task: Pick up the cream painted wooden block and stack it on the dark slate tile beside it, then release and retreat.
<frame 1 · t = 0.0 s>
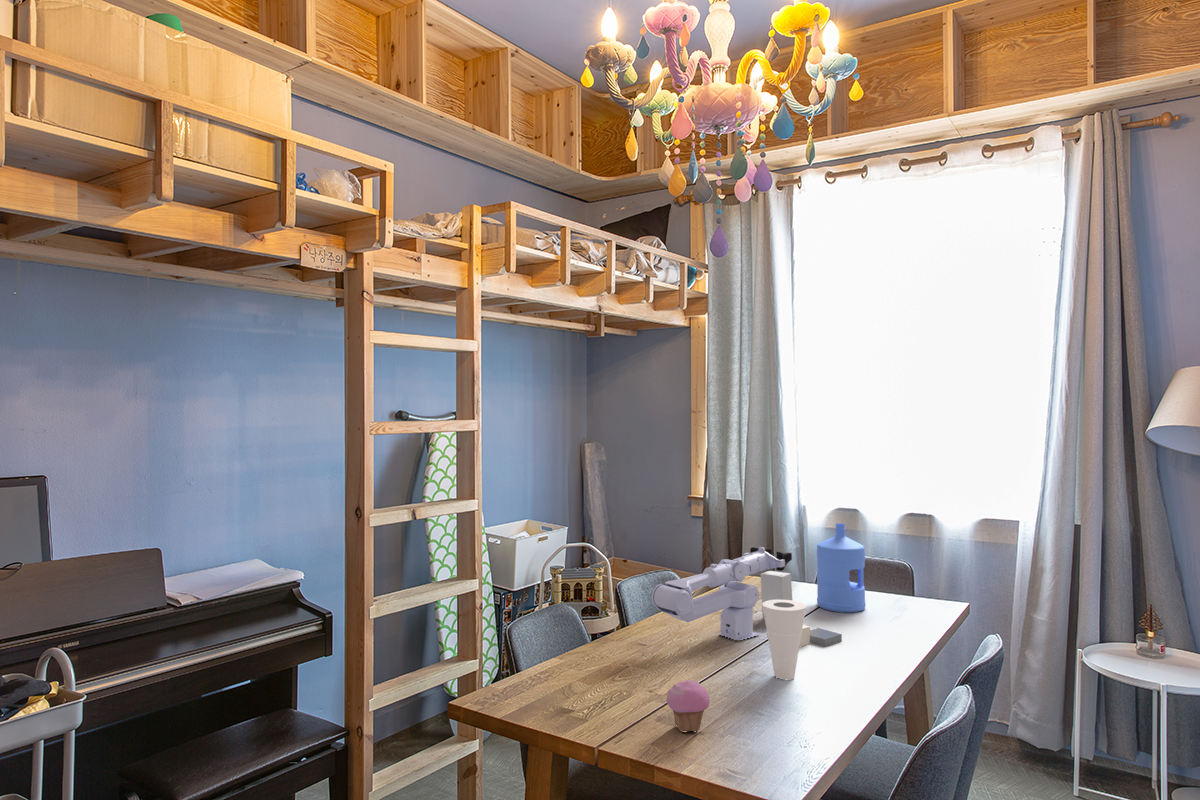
hand: (780, 554, 235), 22 cm above the table, tool horizontal, fingers open, 7 cm apart
block: (798, 643, 215), on the table
cupcake: (687, 731, 157), on the table
skincare box: (776, 620, 240), on the table
base: (821, 640, 218), on the table
water jug: (841, 607, 255), on the table
cup: (784, 677, 188), on the table
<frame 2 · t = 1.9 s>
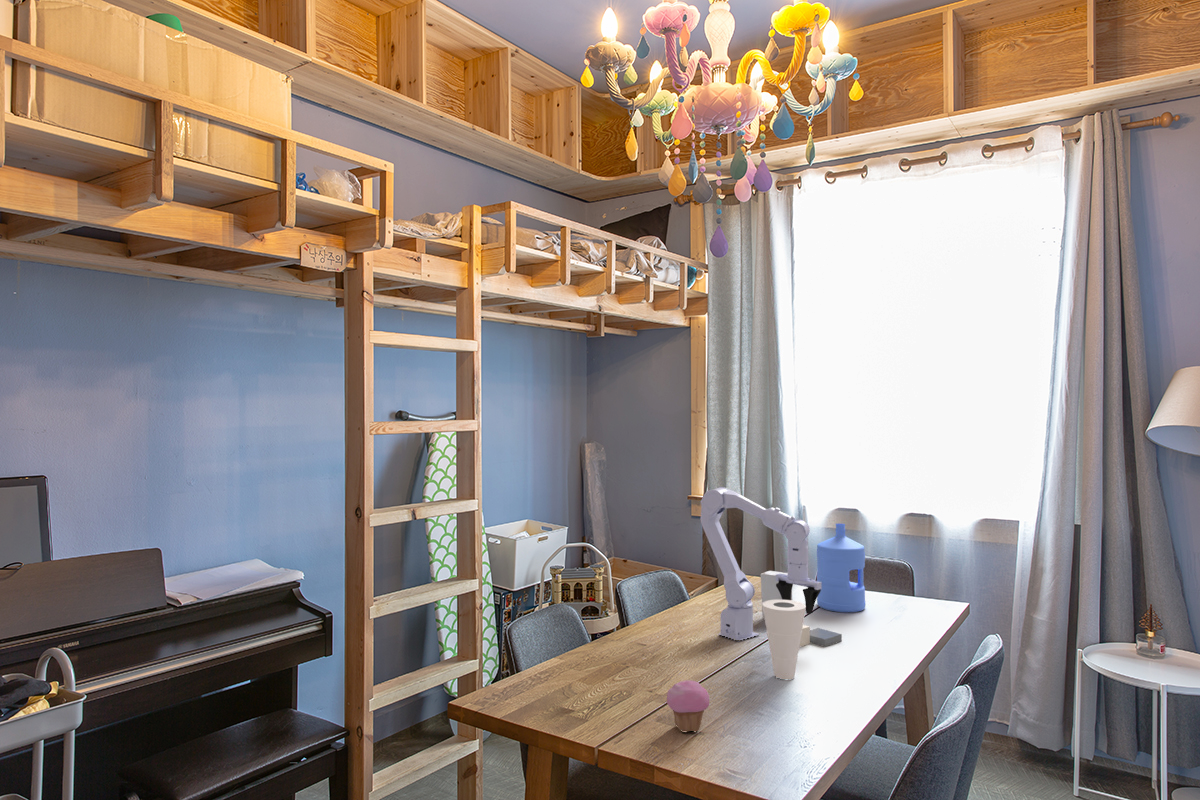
hand: (798, 610, 215), 9 cm above the table, tool pointing down, fingers open, 7 cm apart
nothing on the table moved.
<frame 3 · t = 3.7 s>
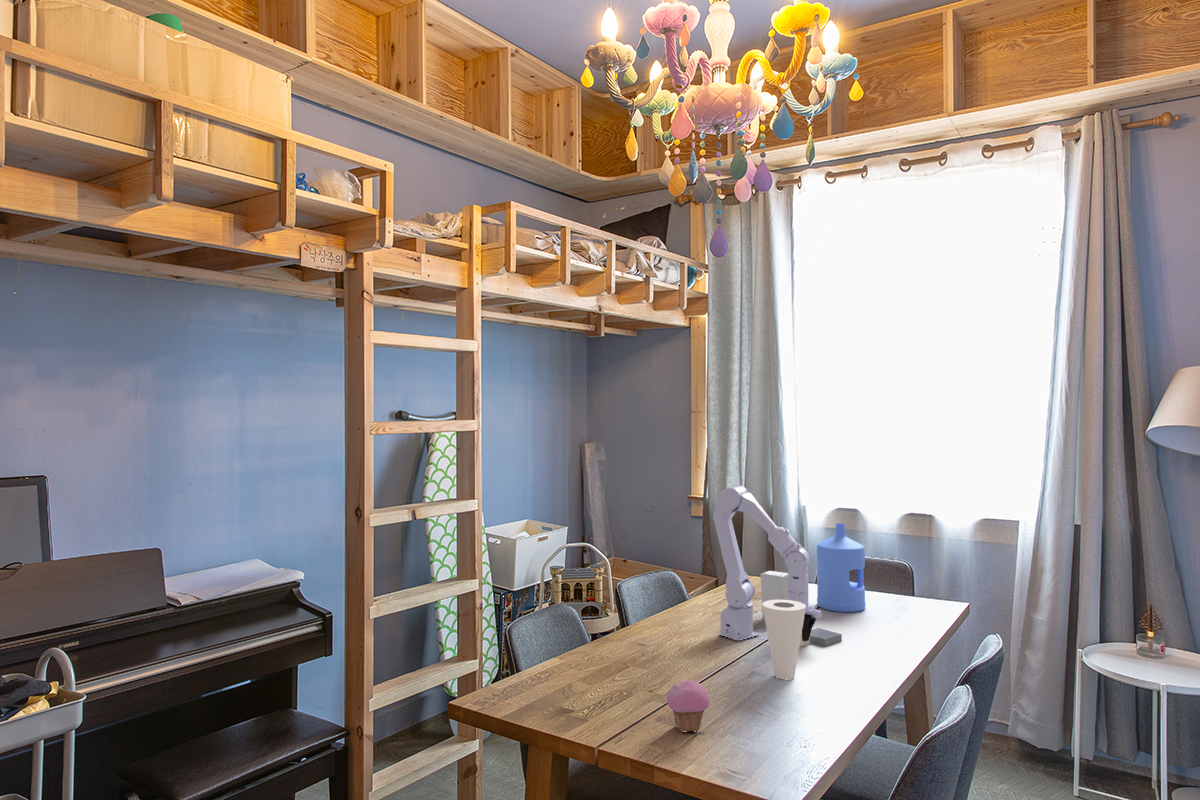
hand: (798, 638, 215), 1 cm above the table, tool pointing down, fingers closed on block, 4 cm apart
block: (798, 643, 215), on the table, touching gripper
everything else where it was.
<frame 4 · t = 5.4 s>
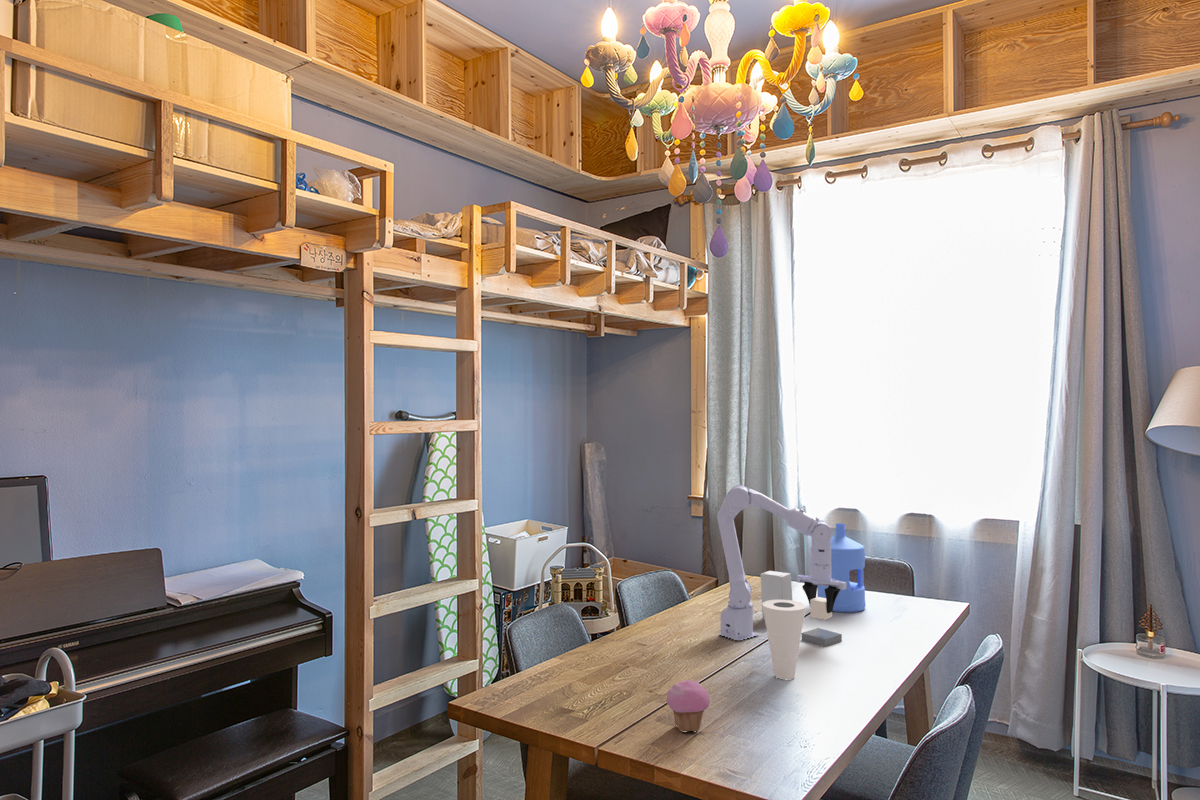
hand: (821, 610, 218), 9 cm above the table, tool pointing down, fingers closed on block, 4 cm apart
block: (821, 616, 218), point 7 cm above the table, touching gripper
everything else where it was.
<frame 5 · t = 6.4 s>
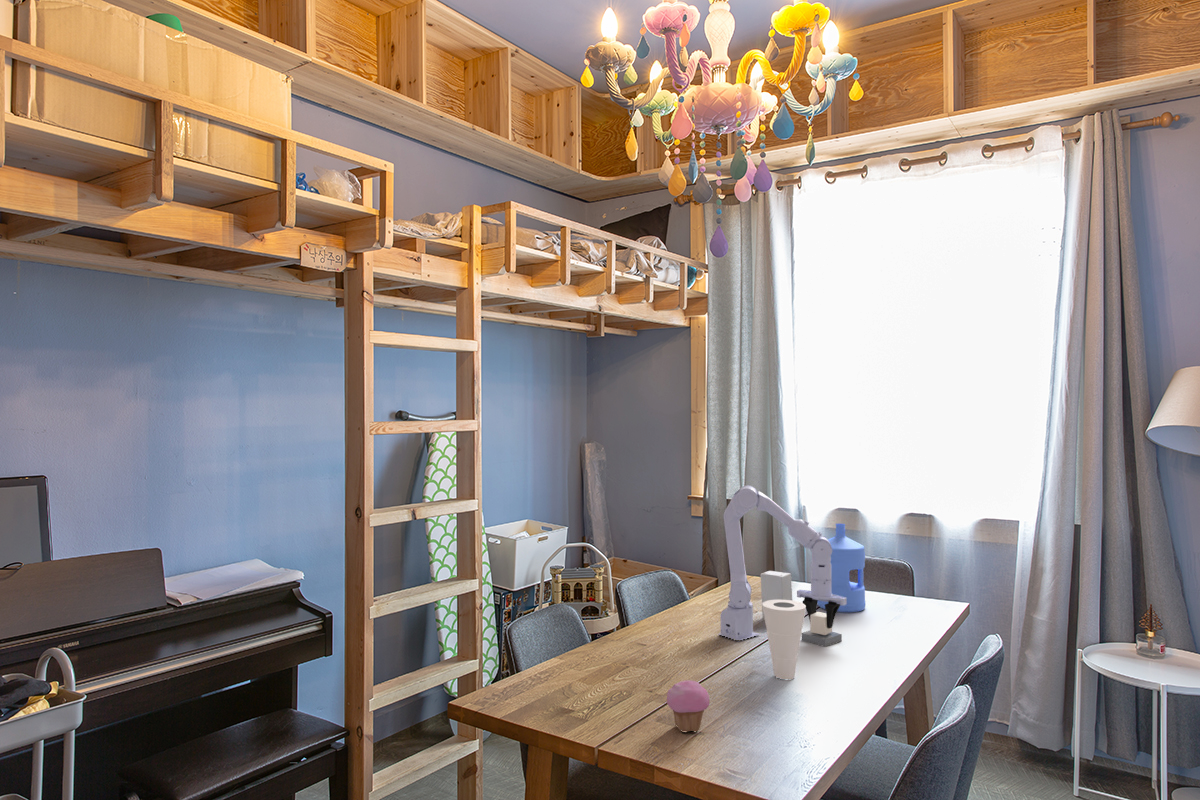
hand: (821, 625, 218), 4 cm above the table, tool pointing down, fingers closed on block, 4 cm apart
block: (821, 632, 218), point 2 cm above the table, touching gripper
everything else where it was.
when the fingers open (4 cm above the table, at t = 7.0 s): block stays where it is, resting on base.
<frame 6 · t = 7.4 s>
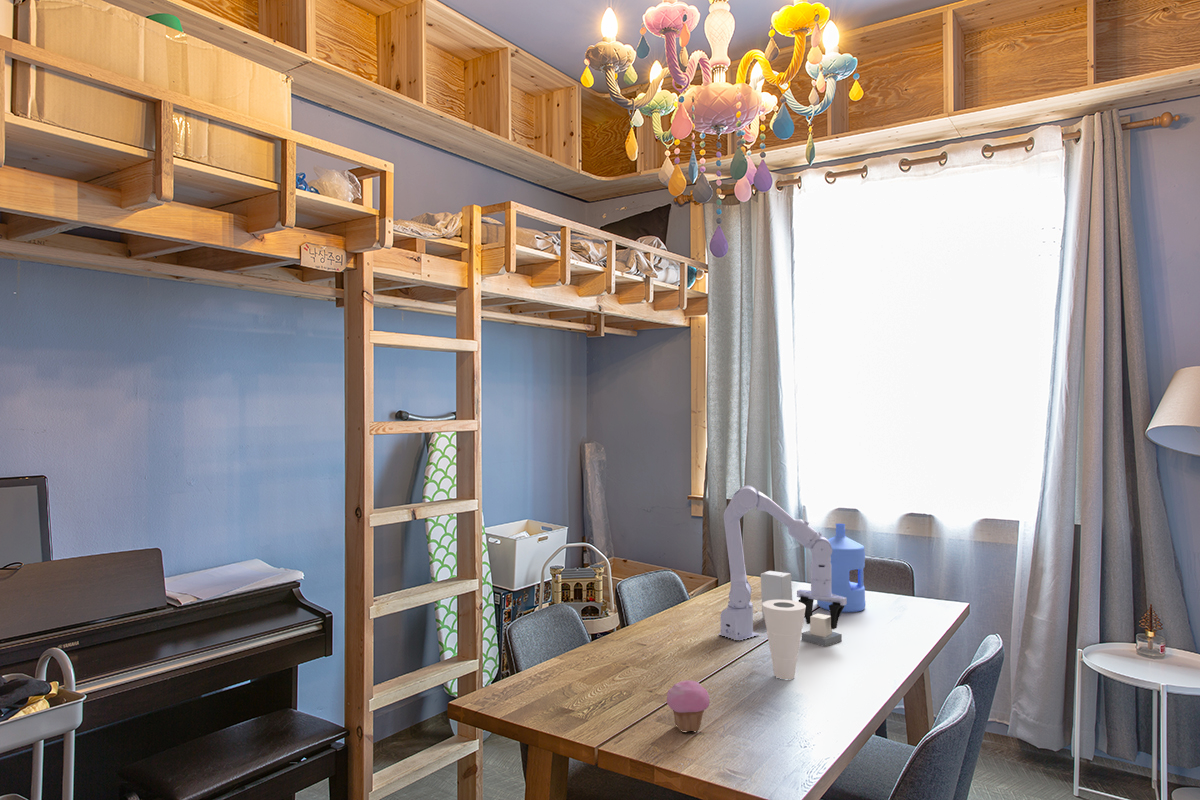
hand: (821, 625, 218), 4 cm above the table, tool pointing down, fingers open, 7 cm apart
block: (821, 633, 218), point 2 cm above the table, touching base
everything else where it was.
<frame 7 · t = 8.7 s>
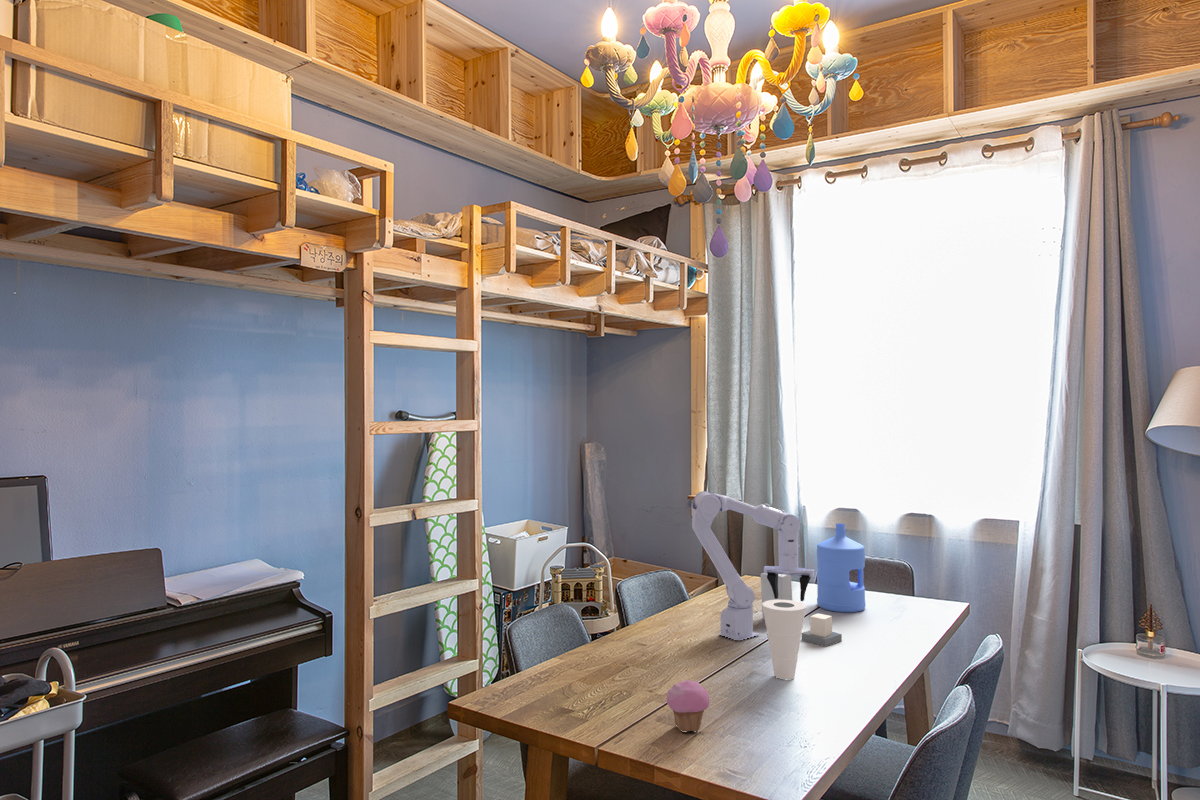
hand: (789, 599, 224), 10 cm above the table, tool pointing down, fingers open, 7 cm apart
nothing on the table moved.
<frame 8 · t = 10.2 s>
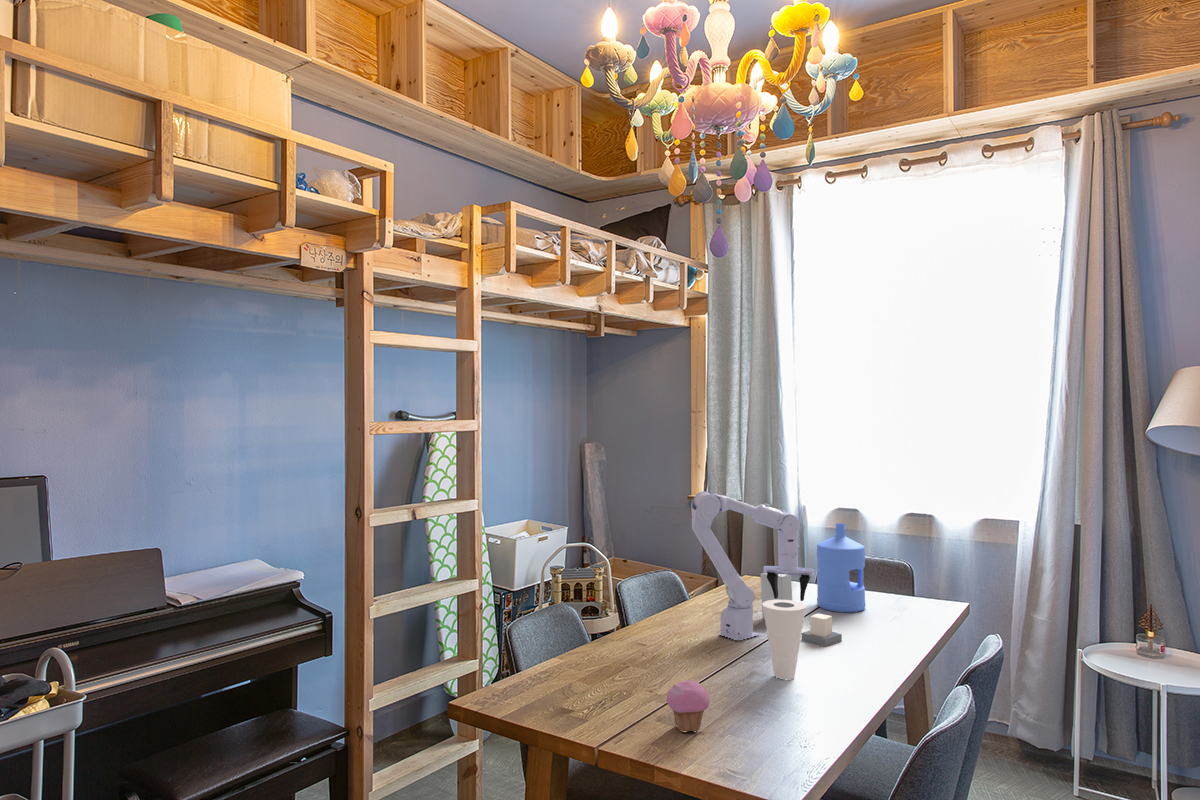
hand: (789, 599, 224), 10 cm above the table, tool pointing down, fingers open, 7 cm apart
nothing on the table moved.
at the end: block 0.1 cm off-centre on the base, point 2.0 cm above the base's base; block tilted 0°; the gripper is holding nothing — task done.
